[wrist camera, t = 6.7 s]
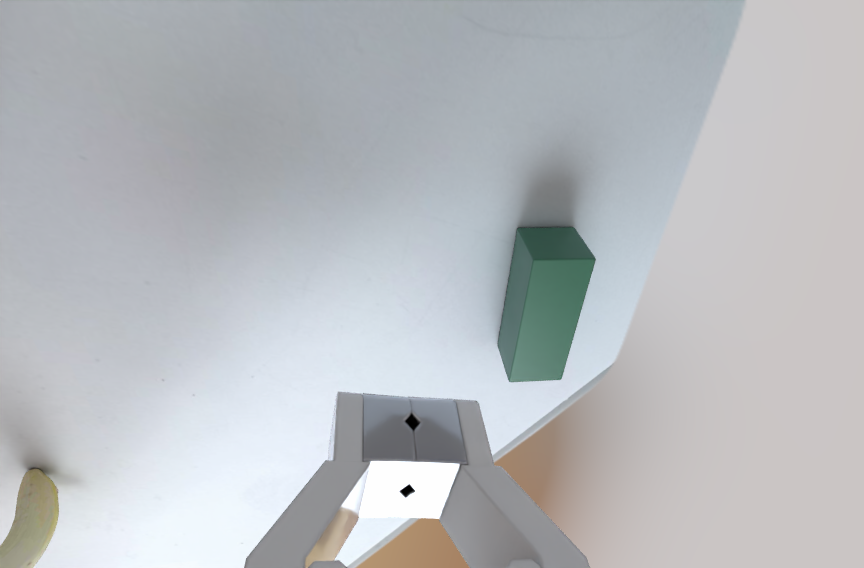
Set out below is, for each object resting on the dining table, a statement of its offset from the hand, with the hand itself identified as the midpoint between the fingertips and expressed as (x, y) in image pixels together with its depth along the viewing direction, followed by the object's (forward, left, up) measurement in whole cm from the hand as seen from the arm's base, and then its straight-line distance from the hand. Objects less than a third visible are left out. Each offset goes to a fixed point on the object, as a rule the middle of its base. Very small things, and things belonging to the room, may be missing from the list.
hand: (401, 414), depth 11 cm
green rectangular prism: (-4, +10, -14) cm, 18 cm away
